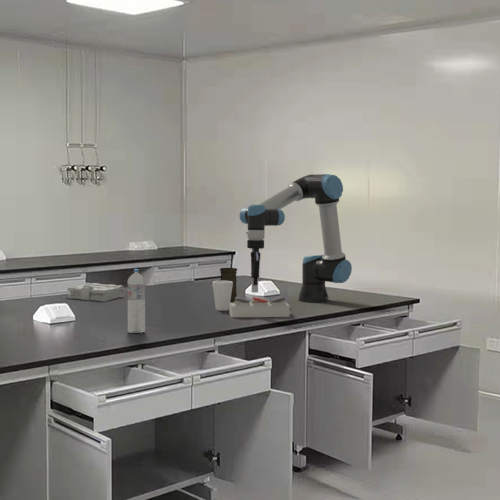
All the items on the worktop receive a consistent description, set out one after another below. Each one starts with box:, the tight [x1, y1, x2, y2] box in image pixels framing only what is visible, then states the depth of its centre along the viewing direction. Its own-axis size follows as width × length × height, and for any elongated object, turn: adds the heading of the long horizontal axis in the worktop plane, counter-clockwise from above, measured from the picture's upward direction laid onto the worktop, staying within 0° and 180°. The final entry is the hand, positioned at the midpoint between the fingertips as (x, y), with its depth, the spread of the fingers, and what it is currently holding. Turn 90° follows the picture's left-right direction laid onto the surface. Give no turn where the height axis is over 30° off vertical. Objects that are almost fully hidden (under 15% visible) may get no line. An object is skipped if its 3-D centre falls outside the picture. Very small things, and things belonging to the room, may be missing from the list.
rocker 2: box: [252, 296, 268, 303], centre depth 340 cm, size 6×4×1 cm, turn 98°
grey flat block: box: [67, 282, 126, 302], centre depth 390 cm, size 19×28×8 cm
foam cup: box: [212, 280, 233, 311], centre depth 357 cm, size 10×9×13 cm
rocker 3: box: [269, 295, 286, 303], centre depth 341 cm, size 6×4×1 cm, turn 97°
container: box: [219, 267, 238, 303], centre depth 369 cm, size 9×9×18 cm
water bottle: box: [127, 268, 146, 334], centre depth 299 cm, size 7×7×25 cm
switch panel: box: [228, 300, 292, 318], centre depth 343 cm, size 27×10×6 cm, turn 97°
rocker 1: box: [235, 296, 250, 303], centre depth 339 cm, size 6×4×1 cm, turn 98°
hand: (254, 292), depth 339 cm, fingers closed
